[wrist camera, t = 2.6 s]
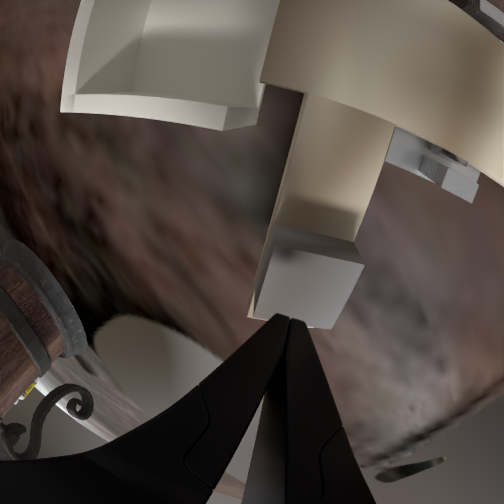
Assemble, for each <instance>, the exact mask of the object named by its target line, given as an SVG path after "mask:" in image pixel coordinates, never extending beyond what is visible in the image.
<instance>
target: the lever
mask: <svg viewBox="0 0 504 504" xmlns="http://www.w3.org/2000/svg"><path fill="white" fill-rule="evenodd" d="M259 82H260V83H262V84H267V85H272V86H276V87H280V88H285V89H289V90H293V91H296V92H300V93H304V97H303V100H302V104H301V108H300V112H299V116H298V120H297V124H296V127H295V131H294V135H293V139H292V143H291V147H290V150H289V154H288V158H287V162H286V165H285V169H284V173H283V177H282V181H281V184H280V188H279V192H278V195H277V199H276V203H275V207H274V210H273V214H272V218H271V221H270V225H269V229H268V233H267V236H266V240H265V244H264V247H263V251H262V254H261V258H260V262H259V265H258V269H257V273H256V276H255V280H254V284H253V287H252V291H251V294H250V298H249V301H248V312H247V317H249V318H255V319H260V320H266V321H268V320H269V319H270V318H271V317H272V316H273V315H274V314H275V313H280V314H283V315H286V316H289V317H290V319H291V318H296V319H299V320H302V321H304V322H305V323H306V325H307V327H310V328H313V327H316V328H323V329H332V327H333V325H334V324H335V322H336V320H337V318H338V316H339V315H340V313H341V311H342V309H343V307H344V305H345V303H346V301H347V300H348V298H349V296H350V294H351V292H352V290H353V288H354V286H355V284H356V282H357V280H358V278H359V276H360V274H361V272H362V270H363V268H364V266H365V264H364V262H363V260H362V258H361V256H360V254H359V252H358V250H357V248H356V246H355V244H354V243H353V241H354V239H355V237H356V234H357V232H358V229H359V227H360V224H361V222H362V219H363V217H364V214H365V212H366V209H367V207H368V204H369V201H370V199H371V196H372V193H373V191H374V188H375V185H376V182H377V179H378V177H379V174H380V171H381V168H382V165H383V162H384V159H385V156H386V153H387V150H388V147H389V144H390V141H391V137H392V134H393V131H394V127H395V126H397V127H399V128H401V129H404V130H406V131H408V132H410V133H412V134H414V135H416V136H418V137H421V138H423V139H425V140H427V141H429V142H431V143H432V144H434V145H436V146H438V147H440V148H442V149H444V150H446V151H447V152H449V153H451V155H450V158H451V159H453V160H455V161H456V162H458V163H460V164H462V165H464V166H466V167H467V164H470V165H471V166H473V167H475V168H476V169H478V170H479V171H481V172H482V173H484V174H485V175H487V176H488V177H490V178H491V179H493V180H494V181H496V182H497V183H499V184H500V185H502V186H503V187H504V44H503V43H502V42H501V41H500V40H498V39H497V38H496V37H495V36H494V33H493V32H492V31H491V30H489V29H488V28H486V27H483V26H482V25H481V24H480V23H478V22H477V21H476V20H475V19H473V18H472V17H471V16H470V15H468V14H467V13H466V12H464V11H463V10H461V9H460V8H459V7H457V6H456V5H454V4H453V3H451V2H450V1H448V0H280V2H279V6H278V10H277V13H276V17H275V21H274V25H273V28H272V32H271V36H270V40H269V44H268V48H267V52H266V56H265V60H264V64H263V68H262V72H261V76H260V80H259Z"/></svg>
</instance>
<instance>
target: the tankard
mask: <svg viewBox="0 0 504 504" xmlns="http://www.w3.org/2000/svg"><path fill="white" fill-rule="evenodd" d="M86 350H87V339H86V335H85V332H84V329H83V326H82V323H81V321H80V319H79V317H78V315H77V313H76V311H75V309H74V307H73V306H72V304H71V302H70V300H69V299H68V297H67V295H66V294H65V292H64V291H63V289H62V288H61V286H60V285H59V283H58V282H57V280H56V279H55V278H54V276H53V275H52V273H51V272H50V271H49V269H48V268H47V267H46V266H45V265H44V263H43V262H42V261H41V260H40V259H39V257H38V256H37V255H36V254H35V253H34V252H33V251H32V250H31V249H30V248H28V247H27V246H26V245H24V244H23V243H22V242H19V241H17V240H15V239H9V240H7V241H6V242H5V244H4V245H3V250H2V254H1V256H0V430H1V432H2V435H1V436H2V441H3V445H4V447H5V449H6V450H7V452H8V453H9V454H10V456H11V457H12V458H13V459H14V460H27V459H36V458H37V456H38V454H39V450H40V446H41V434H42V427H43V423H44V420H45V418H46V416H47V414H48V412H49V411H50V410H51V408H52V407H53V406H54V405H55V404H56V403H57V402H58V401H59V400H60V399H61V398H63V397H64V396H66V395H67V394H70V393H72V392H78V393H80V395H81V397H82V401H81V400H79V399H76V398H72V399H71V400H69V402H68V403H67V407H66V408H67V411H68V413H69V414H71V415H72V416H73V417H76V418H78V419H80V420H86V419H88V418H89V417H90V416H91V414H92V412H93V407H94V402H93V397H92V395H91V393H90V392H89V391H88V390H87V389H86V388H83V387H81V386H79V385H75V384H64V385H61V386H58V387H57V388H55V389H54V390H52V391H51V392H50V393H49V394H48V395H47V396H46V397H45V398H44V399H43V400H42V401H41V402H40V404H39V405H38V407H37V409H36V410H35V413H34V415H33V418H32V422H31V430H30V440H29V444H28V447H27V449H26V450H25V452H24V453H21V454H19V453H16V452H14V450H13V445H16V443H17V442H18V440H19V439H20V438H19V436H20V435H21V434H23V433H25V432H26V427H25V426H24V425H22V424H19V423H11V424H8V425H4V424H3V423H2V417H3V416H4V415H5V414H6V412H7V411H8V410H9V409H10V408H11V406H12V405H13V404H14V403H15V402H16V401H17V400H18V399H19V397H20V396H21V395H22V394H23V393H24V392H25V391H26V390H27V389H28V387H29V386H30V385H31V384H32V383H33V382H34V381H35V380H36V379H37V378H38V377H40V378H41V377H42V376H43V375H44V374H45V373H46V372H47V371H48V370H49V369H50V366H51V363H52V362H53V361H54V360H55V359H56V358H57V357H62V358H68V357H70V356H73V355H75V356H81V355H83V354H84V353H85V352H86ZM77 403H78V405H80V406H82V407H81V409H80V410H79V411H78V412H77V411H76V405H77Z"/></svg>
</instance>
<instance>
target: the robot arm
mask: <svg viewBox="0 0 504 504" xmlns="http://www.w3.org/2000/svg"><path fill="white" fill-rule="evenodd" d="M263 396H264V399H263V404H262V410H261V415H260V420H259V425H258V430H257V435H256V440H255V445H254V449H253V454H252V459H251V463H250V468H249V472H248V477H247V481H246V486H245V490H244V494H243V499H242V503H241V504H376V502H375V500H374V498H373V496H372V494H371V491H370V489H369V487H368V485H367V483H366V481H365V479H364V477H363V475H362V473H361V470H360V468H359V466H358V464H357V461H356V459H355V457H354V454H353V452H352V449H351V446H350V444H349V441H348V438H347V435H346V432H345V429H344V427H342V425H343V424H342V421H341V418H340V415H339V412H338V410H337V407H336V404H335V401H334V398H333V395H332V393H331V390H330V387H329V384H328V381H327V379H326V376H325V373H324V370H323V368H322V365H321V362H320V360H319V357H318V354H317V351H316V349H315V346H314V343H313V341H312V338H311V335H310V333H309V330H308V327H307V325H306V323H305V322H304V321H302V320H299V319H296V318H291V319H290V317H289V316H286V315H283V314H280V313H275V314H274V315H273V316H272V317H271V318H270V319H269V320H268V321H267V322H266V323H265V324H264V325H263V326H262V327H261V328H260V329H258V330H257V331H256V332H255V333H254V334H253V335H252V336H251V337H250V338H249V339H248V340H247V341H246V342H245V343H244V344H243V345H242V346H240V347H239V348H238V349H237V350H236V351H235V352H234V353H233V354H232V355H231V356H230V357H228V358H227V359H226V360H225V361H224V362H223V363H222V364H221V365H220V366H219V367H217V368H216V369H215V370H214V371H213V372H212V373H211V374H210V375H208V376H207V377H206V378H205V379H204V380H203V381H202V382H200V383H199V386H198V385H197V386H196V387H195V388H193V389H192V390H191V391H190V392H189V393H187V394H186V395H185V396H184V397H182V398H181V399H180V400H179V401H177V402H176V403H175V404H173V405H172V406H171V407H169V408H168V409H166V410H165V411H163V412H162V413H160V414H158V415H157V416H155V417H154V418H152V419H151V420H149V421H147V422H145V423H144V424H142V425H140V426H138V427H137V428H135V429H133V430H131V431H129V432H128V433H126V434H124V435H122V436H120V437H118V438H117V439H115V440H113V441H111V442H109V443H107V444H105V445H103V446H100V447H98V448H95V449H93V450H90V451H87V452H83V453H78V454H72V455H66V456H58V457H50V458H40V459H27V460H11V459H10V458H8V457H6V456H5V455H4V454H2V453H0V504H206V503H207V501H208V499H209V498H210V496H211V494H212V493H213V490H214V489H215V487H216V486H217V484H218V482H219V480H220V479H221V477H222V475H223V473H224V472H225V470H226V468H227V466H228V464H229V463H230V461H231V459H232V457H233V455H234V453H235V452H236V450H237V448H238V446H239V444H240V442H241V440H242V438H243V436H244V434H245V432H246V431H247V429H248V426H249V425H250V422H251V421H252V418H253V417H254V415H255V413H256V410H257V409H258V407H259V404H260V402H261V400H262V398H263Z"/></svg>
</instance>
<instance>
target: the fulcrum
mask: <svg viewBox="0 0 504 504" xmlns="http://www.w3.org/2000/svg"><path fill="white" fill-rule="evenodd" d="M461 10H463V11H464V12H466V13H467V14H468V15H470V16H471V17H472V18H473V19H475V20H476V21H477V22H478V23H480V24H481V25H482V26H483V27H486V28H488V29H489V30H491V31H492V32H493V33H494V36H495V37H496V36H499V35H502V34H504V13H503V12H502V11H500V10H499V9H497V8H496V7H495V6H493V5H492V4H490V3H489V2H488V1H486V0H474V1H473V2H471V3H470V4H468V5H467V6H465V7H464V8H462V9H461ZM496 38H497V37H496ZM497 39H498V38H497ZM498 40H500V39H498ZM500 41H501V40H500ZM501 42H502V41H501ZM502 43H503V42H502ZM503 44H504V43H503ZM450 155H451V153H449V152H447V151H446V150H444V149H442V148H440V147H438V146H436V145H434V144H432V143H431V142H429V141H427V140H425V139H423V138H421V137H418V136H416V135H414V134H412V133H410V132H408V131H406V130H404V129H401V128H399V127H397V126H395V127H394V131H393V134H392V137H391V141H390V144H389V147H388V150H387V153H386V156H385V159H384V161H386V162H389V163H391V164H394V165H396V166H398V167H401V168H403V169H405V170H408V171H410V172H412V173H414V174H417V175H419V176H421V177H423V178H425V179H427V180H429V181H432V182H434V183H436V184H437V185H439V186H440V187H441V188H443V189H445V190H447V191H449V192H451V193H453V194H455V195H457V196H459V197H461V198H463V199H464V200H466V201H468V202H470V203H472V202H473V199H474V197H475V194H476V192H477V189H478V186H479V185H478V184H477V183H476V182H477V180H478V177H479V174H480V171H479V170H478V169H476V168H475V167H473V166H471V165H470V164H467V167H466V166H464V165H462V164H460V163H458V162H456V161H455V160H453V159H451V158H450Z"/></svg>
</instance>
